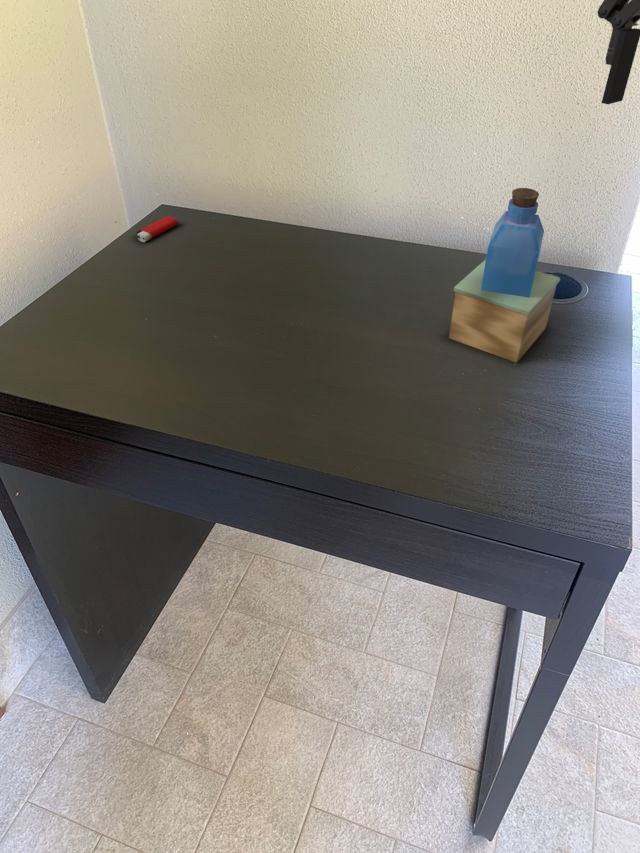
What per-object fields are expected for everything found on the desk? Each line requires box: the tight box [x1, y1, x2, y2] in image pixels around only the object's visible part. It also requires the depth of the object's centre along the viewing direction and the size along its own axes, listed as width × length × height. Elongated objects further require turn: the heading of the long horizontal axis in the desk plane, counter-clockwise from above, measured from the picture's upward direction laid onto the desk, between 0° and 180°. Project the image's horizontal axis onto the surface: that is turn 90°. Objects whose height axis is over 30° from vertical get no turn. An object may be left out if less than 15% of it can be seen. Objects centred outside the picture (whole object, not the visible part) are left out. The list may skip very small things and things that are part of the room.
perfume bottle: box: [481, 187, 545, 298], centre depth 86 cm, size 6×6×12 cm
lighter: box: [136, 215, 179, 243], centre depth 119 cm, size 3×1×8 cm
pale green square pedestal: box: [448, 258, 561, 364], centre depth 92 cm, size 10×10×8 cm
